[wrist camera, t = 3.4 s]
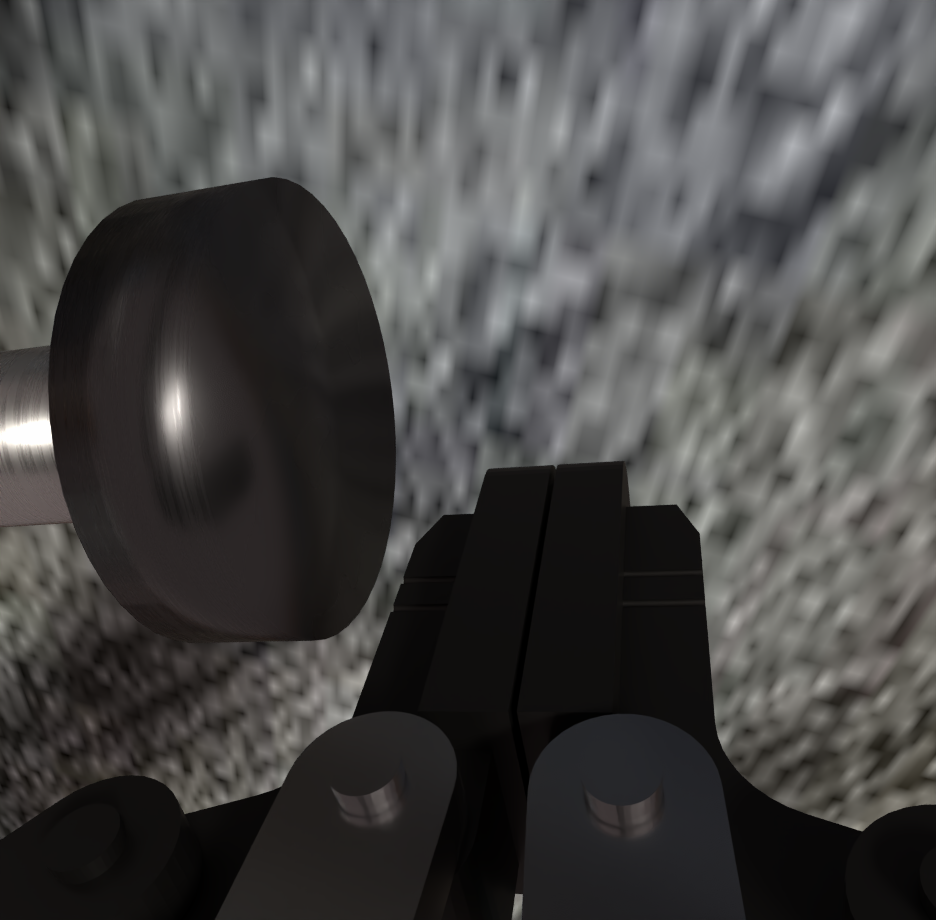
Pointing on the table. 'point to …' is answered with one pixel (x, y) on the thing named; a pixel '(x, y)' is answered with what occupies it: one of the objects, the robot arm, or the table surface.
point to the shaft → (212, 416)
